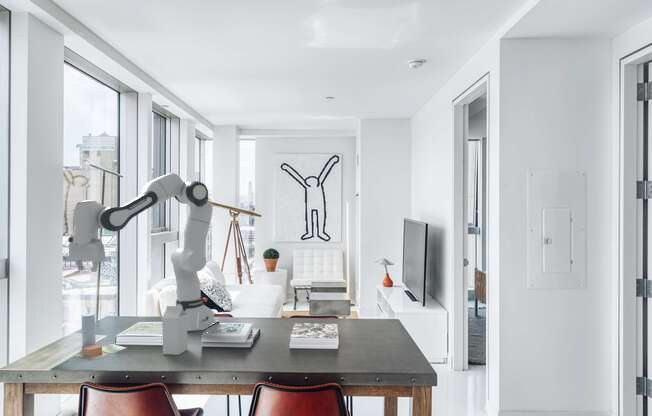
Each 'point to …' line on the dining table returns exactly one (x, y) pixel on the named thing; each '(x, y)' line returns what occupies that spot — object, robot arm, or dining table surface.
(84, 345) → the tall grey block
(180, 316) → the milk carton
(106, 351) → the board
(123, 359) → the dining table surface
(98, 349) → the terracotta marker
